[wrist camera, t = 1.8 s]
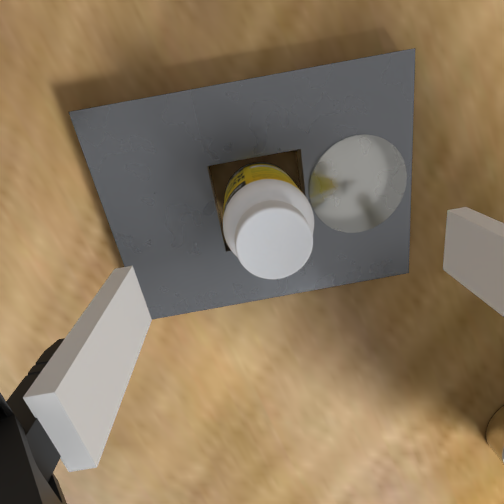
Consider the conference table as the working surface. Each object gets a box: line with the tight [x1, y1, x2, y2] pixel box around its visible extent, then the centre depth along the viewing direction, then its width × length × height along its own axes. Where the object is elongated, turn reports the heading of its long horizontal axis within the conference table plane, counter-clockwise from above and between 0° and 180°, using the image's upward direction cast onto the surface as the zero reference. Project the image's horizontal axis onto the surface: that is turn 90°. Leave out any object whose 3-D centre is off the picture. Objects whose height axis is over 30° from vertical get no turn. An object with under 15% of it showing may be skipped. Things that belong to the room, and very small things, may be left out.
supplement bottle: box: [223, 162, 314, 279], centre depth 21 cm, size 5×5×10 cm
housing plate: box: [69, 48, 415, 319], centre depth 25 cm, size 22×16×2 cm
